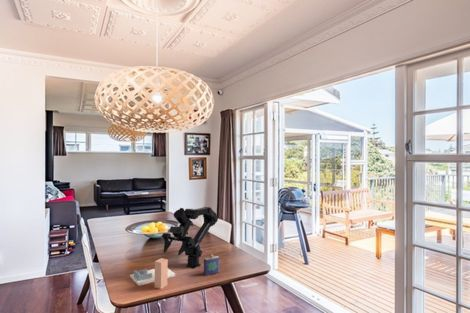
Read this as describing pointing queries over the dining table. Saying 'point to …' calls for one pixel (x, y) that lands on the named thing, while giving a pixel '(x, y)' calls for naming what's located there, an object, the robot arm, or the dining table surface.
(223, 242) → the dining table surface
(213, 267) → the flask
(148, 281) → the dock
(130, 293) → the dining table surface
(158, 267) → the tall peach block
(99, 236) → the dining table surface
